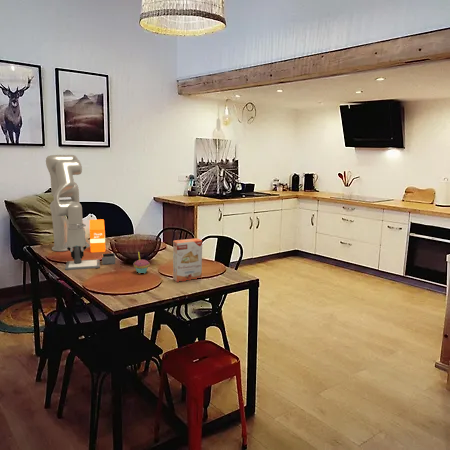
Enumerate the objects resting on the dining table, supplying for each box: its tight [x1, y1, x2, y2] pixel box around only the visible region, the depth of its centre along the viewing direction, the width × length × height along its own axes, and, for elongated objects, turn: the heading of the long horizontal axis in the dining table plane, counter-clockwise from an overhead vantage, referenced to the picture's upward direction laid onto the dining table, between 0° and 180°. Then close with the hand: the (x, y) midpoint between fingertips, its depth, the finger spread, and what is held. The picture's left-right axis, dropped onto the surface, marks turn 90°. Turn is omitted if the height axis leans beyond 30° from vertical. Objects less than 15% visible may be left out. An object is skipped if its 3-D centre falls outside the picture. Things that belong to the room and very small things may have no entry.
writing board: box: [64, 258, 101, 271], centre depth 246 cm, size 14×18×1 cm
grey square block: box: [101, 252, 116, 266], centre depth 251 cm, size 7×7×4 cm
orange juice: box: [89, 218, 106, 253], centre depth 274 cm, size 8×9×20 cm
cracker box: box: [172, 237, 203, 283], centre depth 224 cm, size 14×6×21 cm, turn 117°
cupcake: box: [132, 250, 151, 274], centre depth 234 cm, size 9×8×12 cm
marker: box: [73, 246, 82, 264], centre depth 245 cm, size 4×4×12 cm
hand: (77, 257), depth 246 cm, fingers closed on marker, 3 cm apart
